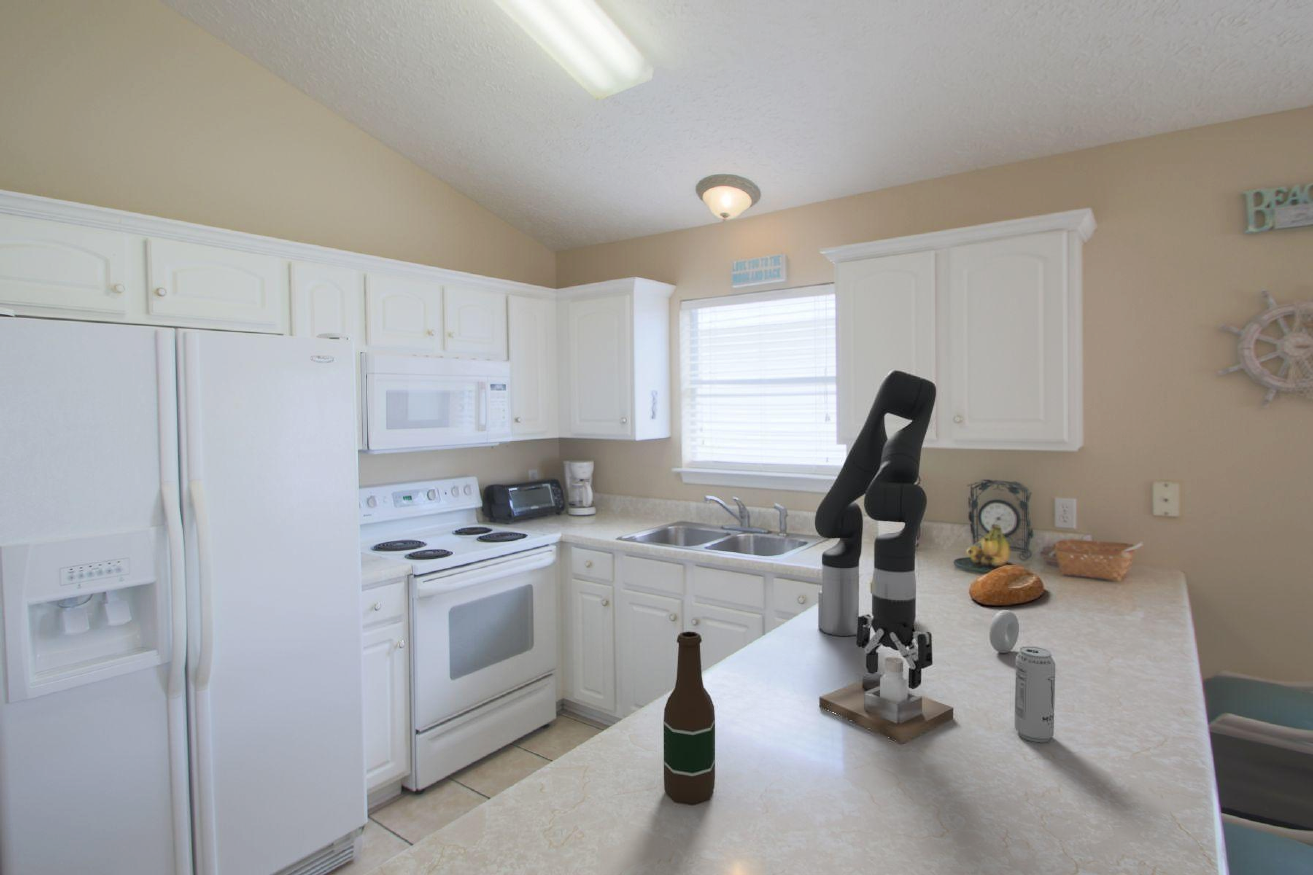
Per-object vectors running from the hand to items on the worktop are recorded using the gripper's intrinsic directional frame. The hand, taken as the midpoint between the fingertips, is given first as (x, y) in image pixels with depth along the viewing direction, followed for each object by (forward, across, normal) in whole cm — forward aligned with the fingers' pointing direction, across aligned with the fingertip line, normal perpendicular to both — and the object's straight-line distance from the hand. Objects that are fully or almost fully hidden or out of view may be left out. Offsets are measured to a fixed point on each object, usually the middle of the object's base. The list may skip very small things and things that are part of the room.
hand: (892, 679), depth 124 cm
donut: (+8, +5, -51) cm, 52 cm away
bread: (+8, +28, -100) cm, 104 cm away
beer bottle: (+8, +5, +44) cm, 45 cm away
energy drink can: (+8, -18, -15) cm, 25 cm away
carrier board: (+8, +3, -2) cm, 8 cm away
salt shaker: (+6, 0, 0) cm, 6 cm away
